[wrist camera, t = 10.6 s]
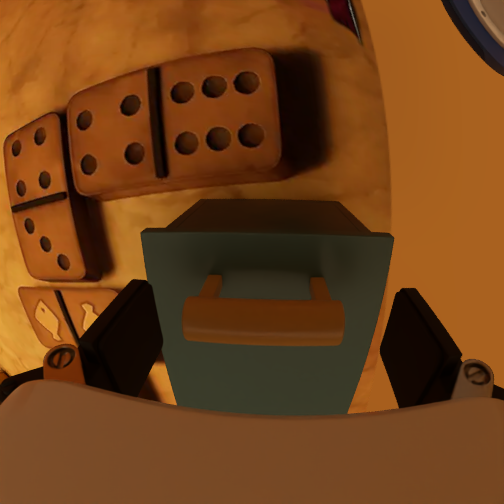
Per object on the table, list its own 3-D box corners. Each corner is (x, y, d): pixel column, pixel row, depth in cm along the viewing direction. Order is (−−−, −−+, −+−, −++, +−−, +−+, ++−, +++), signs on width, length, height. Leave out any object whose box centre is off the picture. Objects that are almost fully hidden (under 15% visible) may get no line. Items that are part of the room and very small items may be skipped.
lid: (146, 227, 14) (93, 266, 9) (389, 232, 13) (437, 275, 8) (184, 413, 20) (168, 463, 15) (340, 419, 19) (348, 471, 14)
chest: (200, 198, 25) (147, 241, 14) (339, 201, 24) (387, 246, 14) (210, 330, 31) (184, 413, 20) (323, 333, 30) (340, 418, 19)
